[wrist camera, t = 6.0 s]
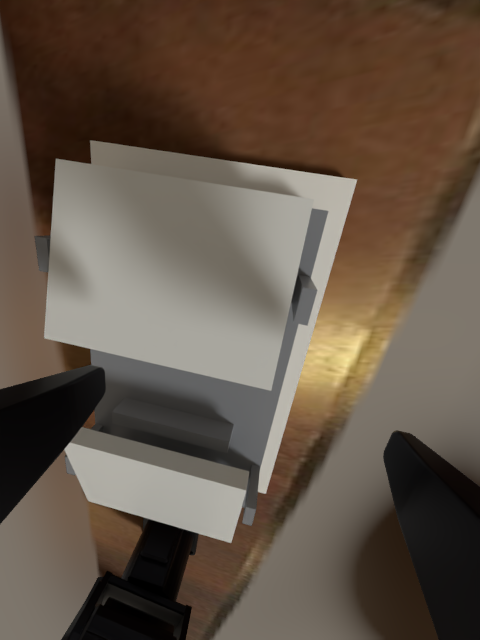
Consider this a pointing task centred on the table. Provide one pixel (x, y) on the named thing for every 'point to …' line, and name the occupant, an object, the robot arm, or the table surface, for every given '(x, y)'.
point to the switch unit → (208, 392)
